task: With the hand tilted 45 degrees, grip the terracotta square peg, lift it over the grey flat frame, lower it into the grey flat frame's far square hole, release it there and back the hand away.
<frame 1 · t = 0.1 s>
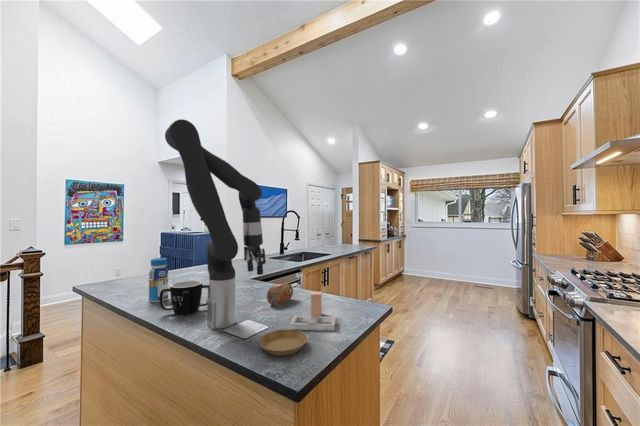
hand: (255, 272, 111), 17 cm above the counter, tool pointing down, fingers open, 8 cm apart
grey flat frame: (313, 325, 100), on the counter
peg: (316, 315, 111), on the counter
mug: (186, 312, 115), on the counter
plant saucer: (283, 348, 84), on the counter
beverage bottle: (158, 300, 132), on the counter
tin: (280, 303, 127), on the counter
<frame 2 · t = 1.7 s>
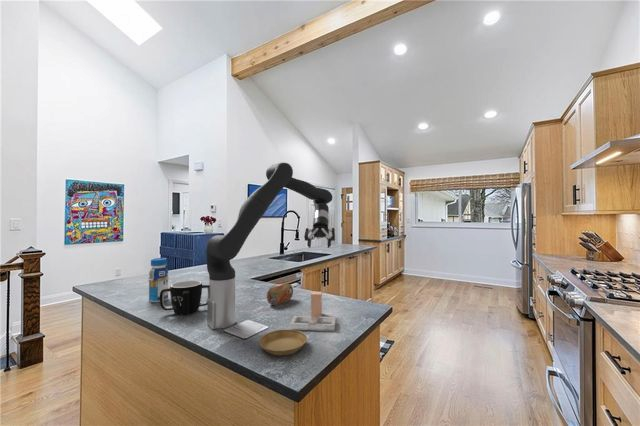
hand: (319, 246, 123), 27 cm above the counter, tool tilted 45°, fingers open, 8 cm apart
nothing on the counter moved.
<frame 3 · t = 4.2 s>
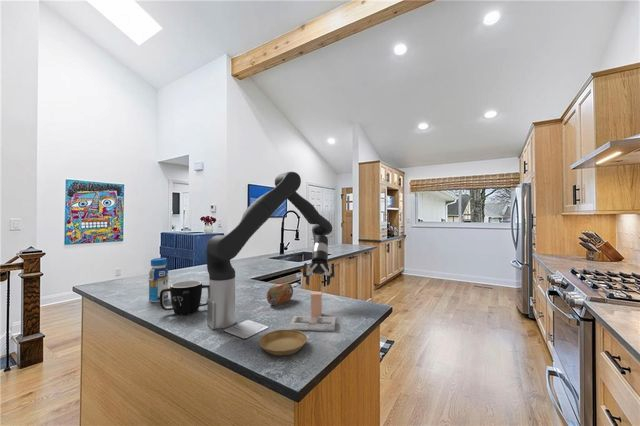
hand: (317, 284, 118), 11 cm above the counter, tool tilted 45°, fingers open, 8 cm apart
nothing on the counter moved.
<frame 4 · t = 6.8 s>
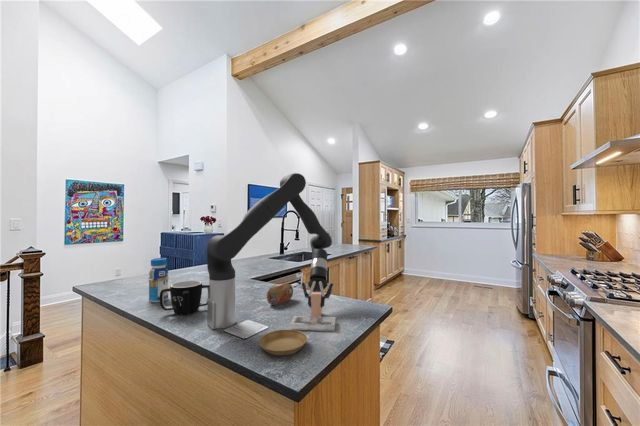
hand: (316, 306, 109), 4 cm above the counter, tool tilted 45°, fingers closed on peg, 4 cm apart
peg: (316, 315, 111), on the counter, touching gripper
everything else where it was.
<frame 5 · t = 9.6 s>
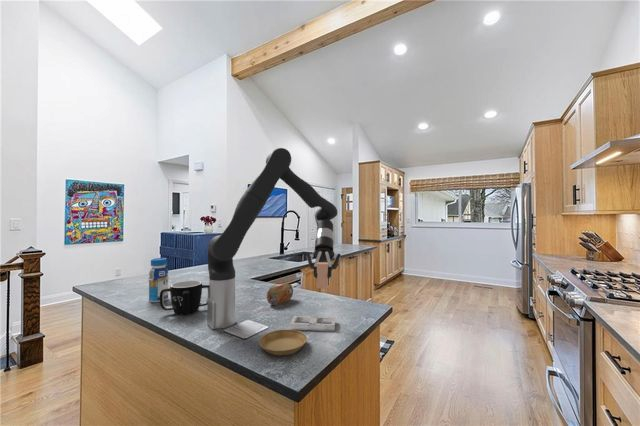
hand: (322, 277, 100), 18 cm above the counter, tool tilted 45°, fingers closed on peg, 4 cm apart
peg: (322, 287, 102), point 14 cm above the counter, touching gripper
everything else where it was.
when the fingers open (5 cm above the counter, at t = 12.6 s): peg stays where it is, resting in grey flat frame.
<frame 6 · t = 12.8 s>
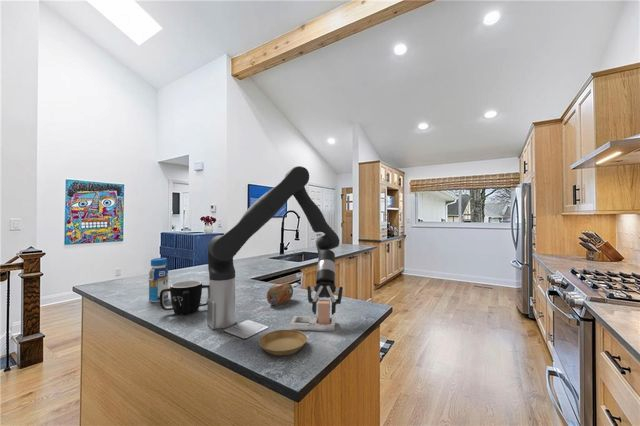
hand: (323, 313, 98), 5 cm above the counter, tool tilted 45°, fingers open, 6 cm apart
peg: (324, 326, 100), resting in grey flat frame
everything else where it was.
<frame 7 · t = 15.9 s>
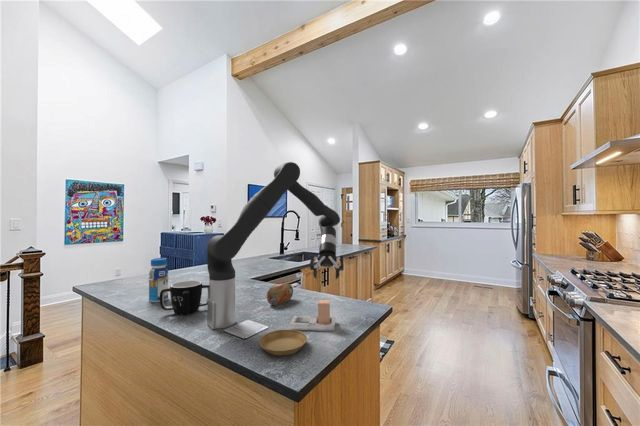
hand: (326, 277, 111), 15 cm above the counter, tool tilted 45°, fingers open, 8 cm apart
nothing on the counter moved.
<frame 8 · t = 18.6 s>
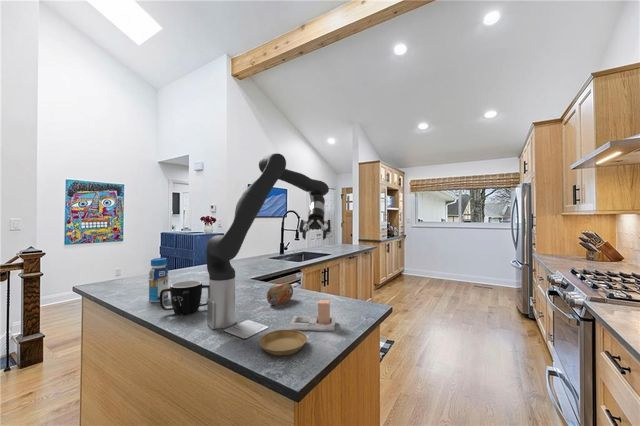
hand: (314, 238, 119), 31 cm above the counter, tool tilted 45°, fingers open, 8 cm apart
nothing on the counter moved.
at the end: peg 0.1 cm from the target spot on the grey flat frame, point 0.0 cm above the grey flat frame's base; peg tilted 0°; the gripper is holding nothing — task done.
